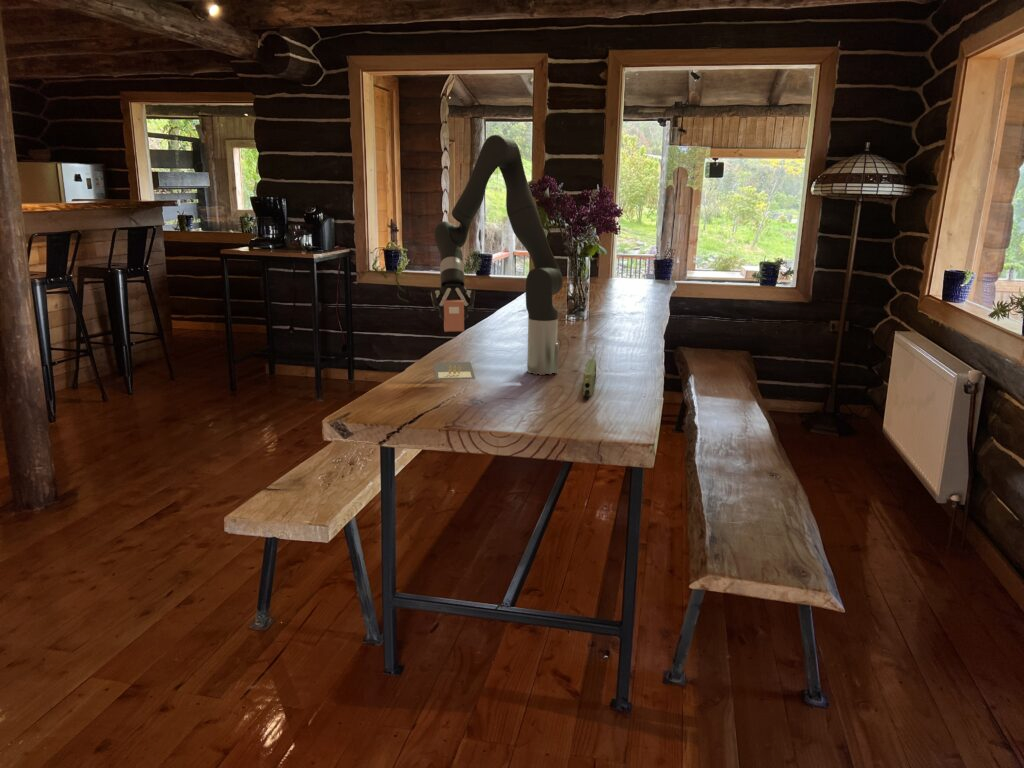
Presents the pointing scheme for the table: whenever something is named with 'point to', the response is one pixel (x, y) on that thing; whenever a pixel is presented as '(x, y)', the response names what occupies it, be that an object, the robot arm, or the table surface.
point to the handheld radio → (589, 378)
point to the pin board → (453, 370)
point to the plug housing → (453, 315)
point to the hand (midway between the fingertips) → (454, 318)
